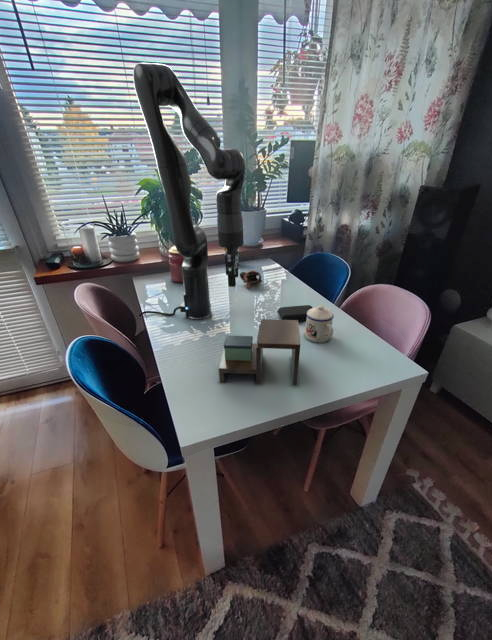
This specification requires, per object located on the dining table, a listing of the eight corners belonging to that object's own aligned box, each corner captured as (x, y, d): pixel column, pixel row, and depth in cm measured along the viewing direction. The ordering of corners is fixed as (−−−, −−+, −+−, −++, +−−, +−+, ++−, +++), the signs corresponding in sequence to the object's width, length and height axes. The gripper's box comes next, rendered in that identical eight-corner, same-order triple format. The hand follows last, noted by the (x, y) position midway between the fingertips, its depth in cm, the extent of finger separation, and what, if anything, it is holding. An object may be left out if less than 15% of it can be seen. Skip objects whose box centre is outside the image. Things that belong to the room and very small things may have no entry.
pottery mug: (265, 284, 158) (266, 272, 151) (256, 298, 155) (256, 287, 147) (243, 274, 161) (243, 263, 153) (234, 288, 157) (233, 277, 150)
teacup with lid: (299, 333, 116) (302, 303, 110) (320, 328, 119) (324, 298, 113) (318, 349, 107) (322, 317, 101) (340, 343, 110) (346, 312, 104)
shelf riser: (219, 382, 93) (216, 342, 85) (226, 355, 104) (224, 318, 97) (296, 385, 91) (300, 344, 84) (295, 358, 103) (298, 320, 95)
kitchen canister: (176, 273, 170) (171, 238, 160) (200, 274, 169) (196, 239, 159) (167, 282, 159) (161, 245, 150) (192, 283, 158) (188, 246, 148)
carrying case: (282, 325, 121) (320, 322, 124) (283, 318, 120) (321, 314, 122) (276, 313, 130) (311, 310, 132) (276, 306, 129) (312, 303, 131)
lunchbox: (224, 360, 93) (223, 345, 91) (227, 349, 98) (226, 335, 95) (251, 361, 93) (251, 346, 90) (252, 350, 98) (252, 336, 95)
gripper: (221, 224, 102) (225, 274, 111) (214, 234, 90) (219, 289, 99) (244, 223, 102) (246, 274, 111) (240, 234, 90) (243, 289, 99)
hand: (233, 281), depth 105 cm, fingers open, 8 cm apart
